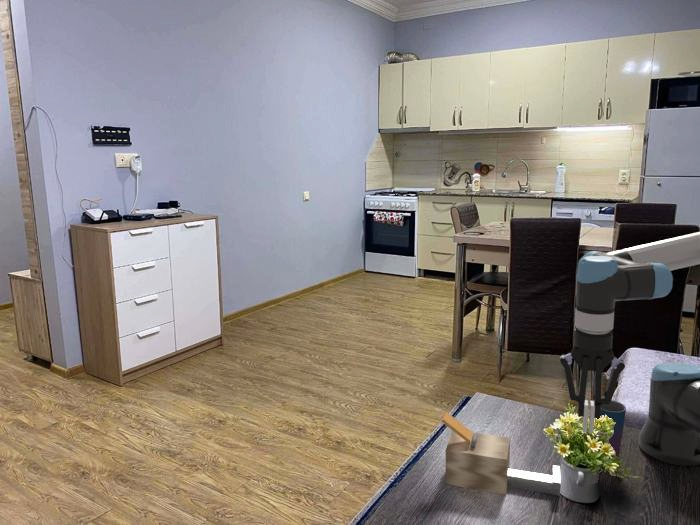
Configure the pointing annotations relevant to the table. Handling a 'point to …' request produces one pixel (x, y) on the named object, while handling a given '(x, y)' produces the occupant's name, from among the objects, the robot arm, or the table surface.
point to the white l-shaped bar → (535, 480)
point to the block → (478, 462)
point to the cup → (618, 415)
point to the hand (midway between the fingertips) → (587, 429)
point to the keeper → (459, 429)
